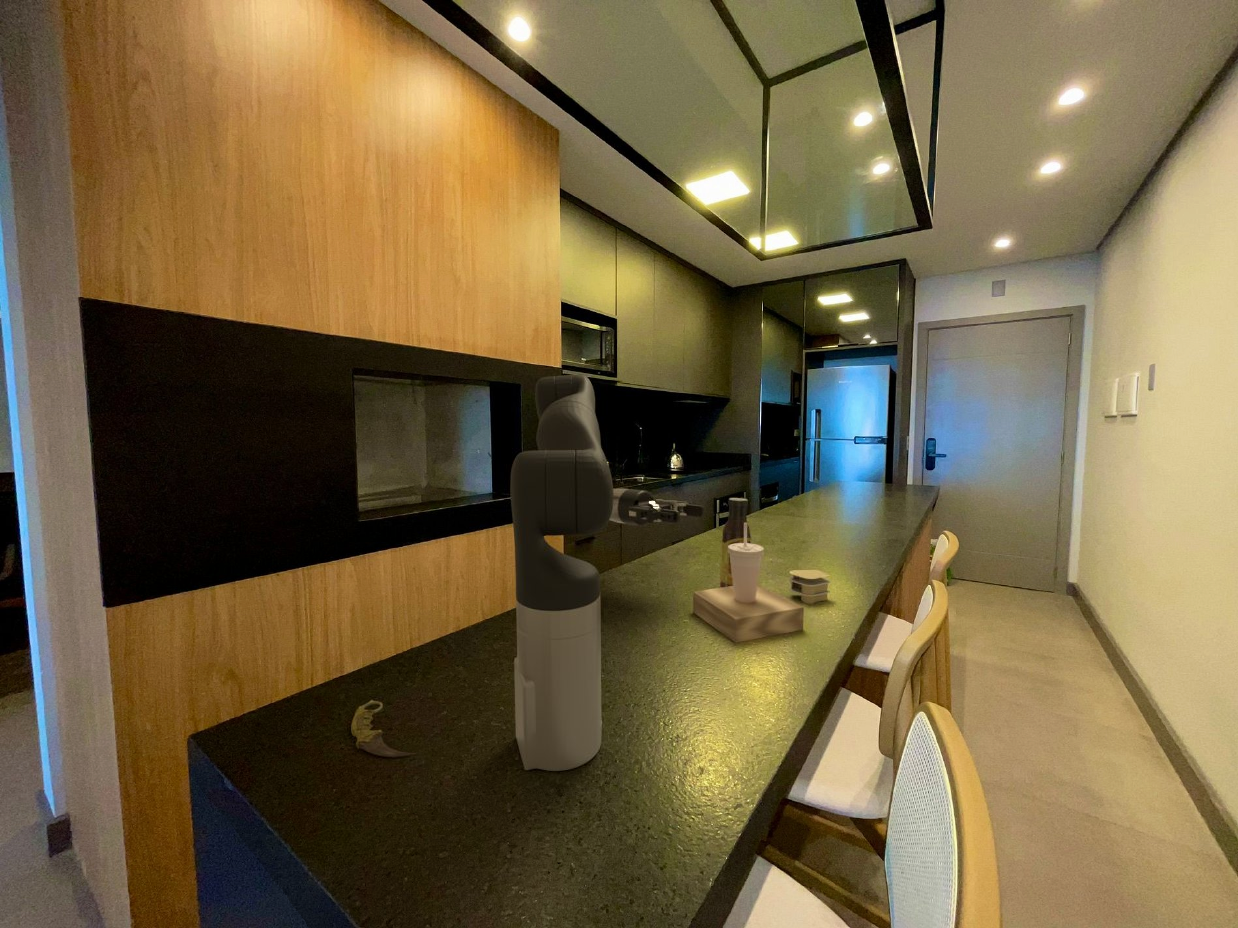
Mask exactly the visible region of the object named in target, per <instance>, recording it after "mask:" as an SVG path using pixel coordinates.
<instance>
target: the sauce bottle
mask: <svg viewBox="0 0 1238 928" xmlns="http://www.w3.org/2000/svg"><path fill="white" fill-rule="evenodd" d="M728 506H729V508H728V515H727V516H728V520H727V521H726V522H725V524H724V527H723V528H722V537H721V548H720V549H721V551H720V553H721V554H720V568H719V569H720V571H719V580H720V582H719V585H720V588H722V587H729V586H733V580H732V571H731V562H730V554H729V553H728V546H729V545H731V544H735V543H744V523H747V543H750V544H752V536H751V535H752V534H751V530H750V526H749V523H748V520H747V518H748V517H747V513H748V511H747V509H748V506H749V500H748V499H747V498H742V497H741V498H739V497H730V498H728Z"/></svg>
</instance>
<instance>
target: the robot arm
mask: <svg viewBox="0 0 1238 928" xmlns="http://www.w3.org/2000/svg"><path fill="white" fill-rule="evenodd" d="M534 389H535V390H534V391H535V393H534V394H535V395H534V397H535V399H534V400H535V407H536V413H537V417H538V420H539V422H538V426H537V430H536V435H535V436H536V437H535V438H536V445H537V449H538V450H525V451H522V452H520V453H518V454H517V455H516V457H515V458H514V460H513V463H512V465H511V470H510V483H509V484H510V488H509V489H510V504H511V505H510V506H511V514H512V515H511V517H512V528H513V538H514V539H513V541H514V560H515V561H514V562H515V564H514V565H515V602H516V603H515V609H516V610H515V611H516V613H515V615H516V646H517V647H516V648H517V650H516V651H517V653H516V654H517V655H516V657H515V658H514V661H513V663H514V664H513V665H514V667H513V668H514V708H515V711H514V712H515V716H514V717H515V738H516V742H517V745H518V749H519V753H520V758H521V761H522V765H523V769H524V770H526V771H529V770H533V769H539V770H544V771H548V772H549V771H550V772H551V771H552V772H558V771H559V772H560V771H567V770H572V769H575V768H578V767H580V766H583V765H584V764H587V763H588V762H589V761H591V760H592V759H593V758H594V757H595V756H596V755H597V753H598V752H599V750H600V748H601V745H602V728H603V724H602V723H603V722H602V663H601V662H602V660H601V659H602V656H601V655H602V654H601V653H602V650H601V649H602V646H601V644H602V642H601V639H602V637H601V635H602V634H601V630H602V629H601V623H602V622H601V619H602V618H601V577H600V572H599V570H598V569H597V568H596V566H594V565H593V564H591V563H590V562H587V561H585V560H582V559H579V558H576V557H574V556H570V555H567V554H565V553H563V552H561V551H559V550H558V549H555V547H553V546H551V544H549V543H548V542H547V541H546V539H545V537H546V536H547V537H548V536H550V537H551V536H555V537H556V536H575V535H577V536H583V535H584V536H585V535H592V534H596V533H599V532H601V531H602V530H604V529H605V528H606V527H607V525H608V524H609V522H610V521H612V522H615V523H619V524H626V525H632V526H639V527H643V526H644V527H645V526H647V525H648V524H652V523H656V522H657V523H661V522H666V523H667V522H668V523H673V524H674V523H675V524H677V523H679V522H680V521H681V516H689V517H696V518H697V517H698V518H702V517H704V516H705V507H704V506H703V505H697V504H692V502H691V501H689V500H688V501H683V500H674V499H667V500H666V499H665V500H664V499H654V497H653V495H652V493H651V492H650V491H648V490H642V489H632V488H630V489H629V488H614V484H613V479H612V473H611V469H610V466H609V463H608V460H607V458H606V455H605V453H604V451H603V449H602V444H601V441H602V440H601V432H600V426H599V422H598V418H597V415H596V396H595V390H594V386H593V385H592V383H591V381H590V379H589V378H588V377H587V376H585V375H582V374H569V375H568V374H567V375H565V374H564V375H556V376H555V375H553V376H545V377H542V378H541V377H540V378H539V379H538V380H537V382H536V383H535V388H534Z"/></svg>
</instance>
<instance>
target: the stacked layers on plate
mask: <svg viewBox="0 0 1238 928" xmlns="http://www.w3.org/2000/svg"><path fill="white" fill-rule="evenodd" d="M789 574H791V575H793V576H789V581H790V582H791V583H790V585H789V587H788V590H789V591H791V592H793V593H796V594H798V595H801V598H800V599H801V600H800V601H801V603H806V604H815V603H816V602H821V601H822V602H823V601H827V600H828V594H830V593H831V592H830V590H828V585H829V584H830V583H831V581H829V580H827V579H825V577H830V576H831V575H830V574H828V573H825V572H823V571H821V570H820V569H819V570H818V569H795V570H790V571H789Z"/></svg>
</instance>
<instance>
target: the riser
mask: <svg viewBox="0 0 1238 928" xmlns="http://www.w3.org/2000/svg"><path fill="white" fill-rule="evenodd" d="M804 610H805V609H804V606H802V605H800V604H798V603H796V602H794V601H792V600H790V599H788V598H786V597H784V596H782V595H779V594H778V593H776V592H773V591H772V590H770V589H767V588H765V587H764V586H761V585H759V584H758V585H757V592H756V599H755V601H754V602H751V603H743V602H739V601H736V600H735V598H734V589H733V586H729V587H722V588H721V587H716V588H709V589H704V590H696V591H692V613H694V614H695V615H696V616H698V617H700V619H702V621H704V622H706V623H708V624H709V625H710V626H712V627H713V628H715V630H717V631H719V632H720V633H721V634H722V635H724V636H726V637H727V638H728V639H730V640H731V642H734V643H735V644H737V643H741V642H746V641H747V642H748V641H752V640H756V639H762V638H767V637H772V636H776V635H782V634H787V633H792V632H796V631H797V632H798V631H803V630H804V617H805V616H804V615H805V614H804Z"/></svg>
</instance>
